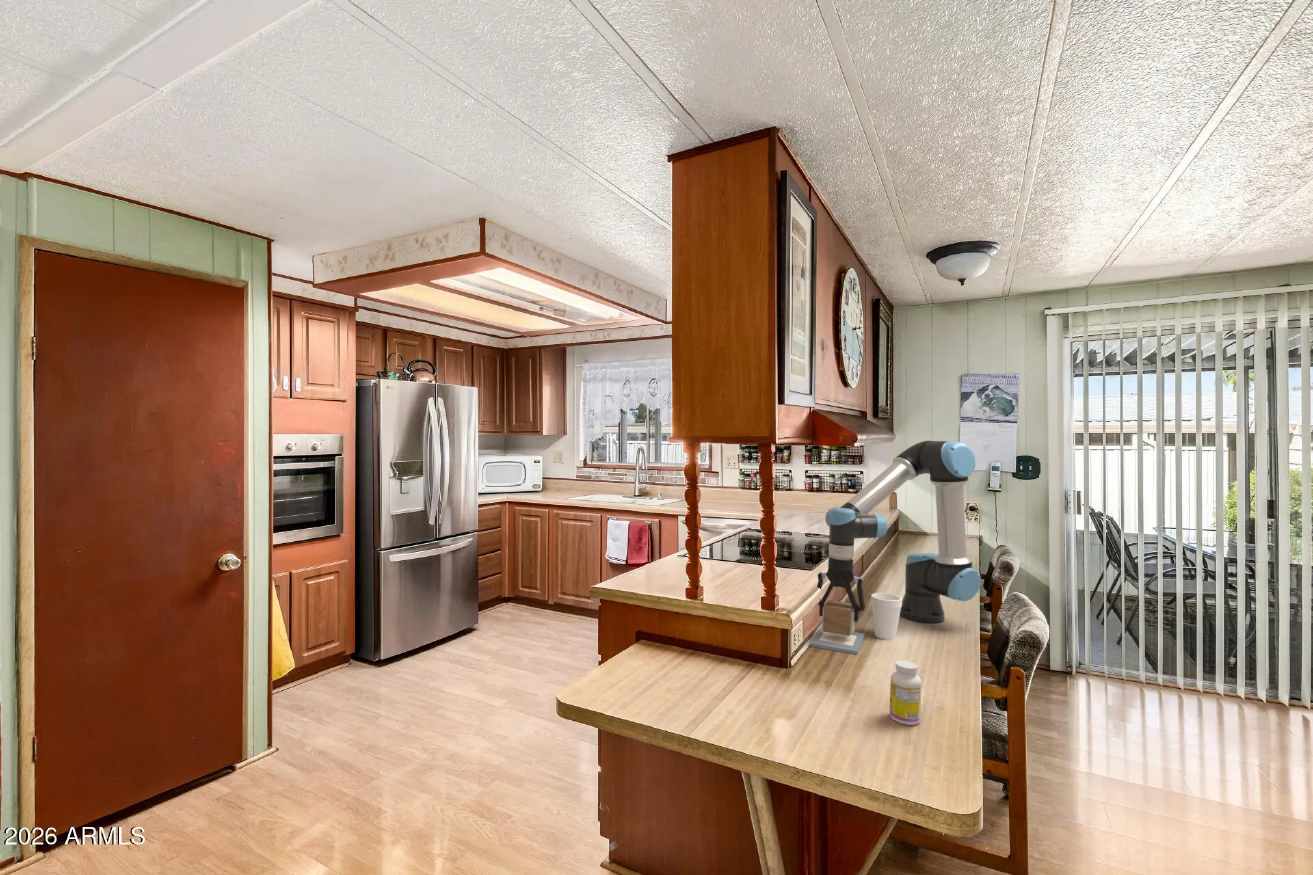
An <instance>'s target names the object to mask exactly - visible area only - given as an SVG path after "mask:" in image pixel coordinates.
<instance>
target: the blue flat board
mask: <svg viewBox="0 0 1313 875" xmlns="http://www.w3.org/2000/svg"><path fill="white" fill-rule="evenodd" d="M820 627H821V626H820ZM820 627H819V629H820V630H819V629H817V631H816V633H815V635H814V636H813V638H812V639H811V640H810V643H809V647H813V648H819V649H824V650H829V651H835V652H841V653H846V654H853V655H858V654H859V651H860V649H861V647H862V644H863V642H864V640H865V635H866V634H865V633H863V632H857V631H854V632H853V633H851V634H850V636H846V635H840V634H834V633H829V632H823V628H822V627H821V628H820Z"/></svg>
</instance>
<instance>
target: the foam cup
mask: <svg viewBox="0 0 1313 875" xmlns="http://www.w3.org/2000/svg"><path fill="white" fill-rule="evenodd" d="M870 596H871V597H870V603H871V606H872V607H871V609H872V619H873V627H874V628H873V629H874V636H875V637H876V638H879V639H881V640H887V641H888V640H889V641H890V640H891V641H892V640H895V639H896V636H897V631H898V626H899V620H900V616H901V615H900V610H901V607H902V600H903V598H902V597H901V596H899V595H896V594H893V593H892V594H891V593H887V592H874V593H872V594H871V595H870Z"/></svg>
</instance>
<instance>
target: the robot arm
mask: <svg viewBox="0 0 1313 875" xmlns="http://www.w3.org/2000/svg"><path fill="white" fill-rule="evenodd" d="M976 463H977V462H976V456H975V454H974V451H973V450H972V448H970V447H969V445H968V444H966V443H963V442H961V441H954V440H923V441H919V442H917V443H915V444H913V445H911V446H909V447H908V448H906V449H905V450H903V451H902V452H901V453H899V454H898V455H897V456H895V457H894V458H893V460H892V464H891V465H889V466H888V467H887V468H886V469H884V470H883V471H882V472H881V473H880V474H879V475H877V476H876V477H875V478H874V479H873V480H872V481H870V482H869V483H868V484H867V485H865V487H863V488H862V489H861V490H859V491H858V492H857V493H856V494H855V495H853V496H852V497H851V498H850V499H849V500H848V501H846V502H845V503H844V504H843V505H841V506H840V507H832V508H830V509H828V510H827V512H826V513H825V518H824V519H825V523H826V525H827V526H828V528H829V536H828V537H829V540H828V541H829V544H828V555H829V557H828V562H827V563H828V564H827V571H826V572H822V571H820V572H818V573H817V580H818V581H817V585H816V588H817V587H818V588H820V589H821V588H822V589H823V584H824V580H825V579H826V577H827V579H828V580H829V582H830V583H829V584H828V586H827V589H826V590H825V592H824V594H823V596H822V599H819V600H820V602H819V604H817V605H818V606H819V610H818V611H819V612H818V613H819V616H820V617H821V618H822V624H821V626H822V628H823V617H824V605H825V604H826V603H827V601H828V598H829V597H830V594H831V592H832V590H833V589H834V587H836V588H842V589H844V590H845V591H846V594H847V596H848V598H849V602H850V603H851V604H852V607H853V609H854V610H852V612H851V633H853V632H855V623H857V622H858V620H859V617H860V616H859V615H860V614H859V612H861V611H862V612H863V611H864V610H865V609H866V605H865V597H864V590H863V589H864V588H863V582H864V578H863V577H861V576H860V577H858V576H855V574H854V559H853V558H854V551H855V539H878V538H883V537H884V536H885V535H886V534H887V533H888V522H887V519H886V518H885V517H884V516H883V515H881V514H875V513H872V514H870V512H872V511H873V510H874V509H875V508H877V507H878V506H879V505H880V504H881V503H883V502H884V500H886V499H888V498H889V496H891V495H892V494H893V493H894V492H896V491H897V489H899V488H900V487H901V486H903V485H904V484H905V483H906V482H907V481H908V480H909V481H912V480H914V479H916V478H917V477H918V476H920V475H924V474H925V475H926V474H929V480H930V481H929V482H930V483H932V484H933V485H934V486H935V501H936V502H935V503H936V507H935V508H936V526H937V541H938V542H937V543H938V547H937V548H938V553H929V552H928V553H925V552H923V553H922V552H921V553H919V552H918V553H915V552H914V553H909V554H908V555H907V557H906V560H905V561H906V562H905V580H904V581H905V584H904V585H905V587H904V589H905V590H904V592H905V593H904V595H903V598H902V607H901V610H900V616H901V617H902V618H904V619H907V620H910V621H914V622H921V623H928V624H930V623H931V624H935V623H936V624H937V623H938V624H939V623H942V622H945V619H946V618H945V611H944V608H943V607H944V606H943V605H942V604H943V603H942V601H941V596H942V597H946V598H948V599H951V600H953V601H958V602H967V601H970V600H972V599H973V598H974V597H975V596H976V595H977V594H978V592H979V590H980V588H981V585H982V584H981V583H982V577H981V574H980V573H979V571H978V570H976V569H975V568H973V560H972V558H971V557H969V555H968V554H967V539H966V538H967V536H966V535H967V534H966V516H965V514H966V512H965V496H964V492H965V491H964V486H965V484H966V483H968V481H969V477H970V476H971V475H972V474H973V472H974V469H975V468H976ZM853 581H854V583H855V584H856V590H857V597H858V603H859V605H858V603H857V600H856V597H855V594H854V592H853V590H852V586H851V583H852V582H853ZM822 589H821V590H822Z"/></svg>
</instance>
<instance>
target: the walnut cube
mask: <svg viewBox="0 0 1313 875" xmlns="http://www.w3.org/2000/svg"><path fill="white" fill-rule="evenodd" d="M852 610H854V609H853V607H852V604H851V602H844V601H837V600H831V599H827V600H826V602H825V604H824V617H823V616H822V618H823V632H829V633H834V634H840V635H846V636H850V634H851V612H852Z"/></svg>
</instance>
